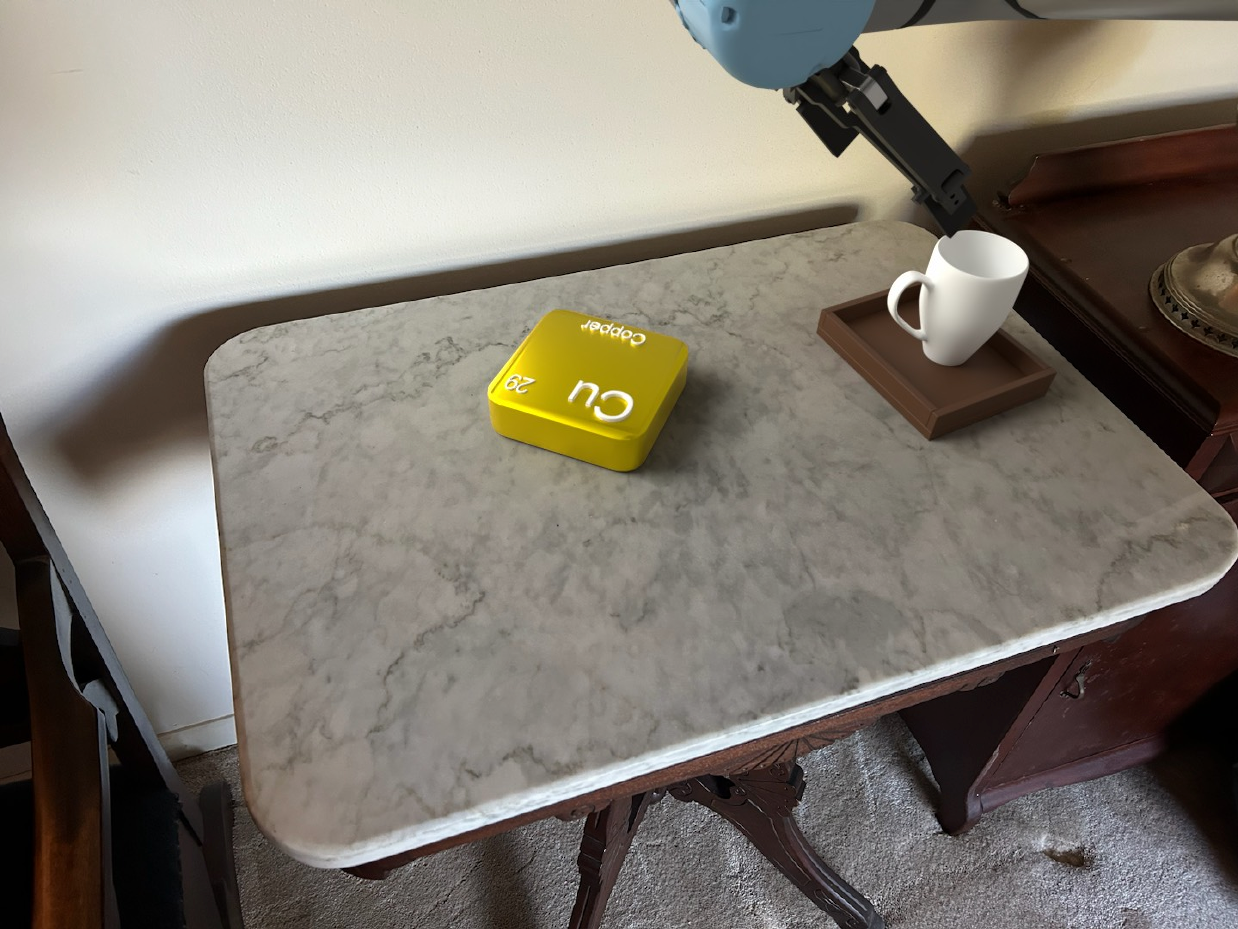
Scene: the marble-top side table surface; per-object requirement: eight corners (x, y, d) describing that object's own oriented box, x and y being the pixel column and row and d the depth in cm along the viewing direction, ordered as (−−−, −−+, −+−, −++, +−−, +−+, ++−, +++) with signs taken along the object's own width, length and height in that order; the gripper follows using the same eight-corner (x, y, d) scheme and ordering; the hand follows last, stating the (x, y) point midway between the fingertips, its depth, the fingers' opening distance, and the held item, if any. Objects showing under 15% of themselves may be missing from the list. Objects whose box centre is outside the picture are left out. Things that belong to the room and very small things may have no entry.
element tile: (691, 375, 83) (695, 336, 79) (636, 479, 73) (637, 440, 70) (553, 337, 87) (551, 298, 83) (483, 431, 77) (477, 392, 73)
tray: (1045, 395, 82) (1058, 371, 80) (928, 441, 77) (937, 417, 75) (925, 297, 92) (933, 274, 90) (815, 332, 88) (821, 309, 86)
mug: (964, 323, 88) (1002, 225, 79) (1003, 374, 82) (1048, 275, 74) (855, 335, 86) (882, 236, 78) (888, 388, 80) (921, 288, 72)
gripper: (627, -16, 58) (776, 150, 74) (846, 133, 43) (976, 303, 59) (700, -114, 56) (837, 79, 72) (958, 5, 41) (1062, 217, 56)
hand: (900, 180), depth 65 cm, fingers open, 13 cm apart
